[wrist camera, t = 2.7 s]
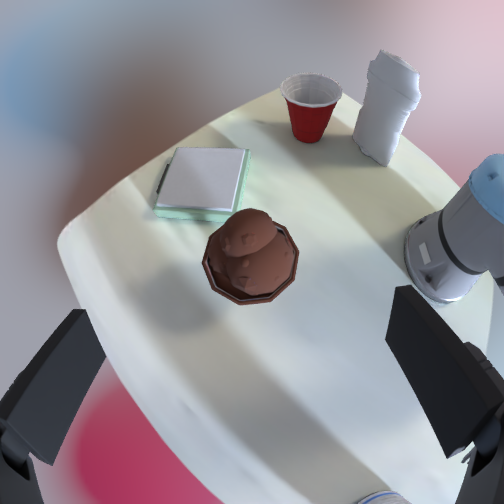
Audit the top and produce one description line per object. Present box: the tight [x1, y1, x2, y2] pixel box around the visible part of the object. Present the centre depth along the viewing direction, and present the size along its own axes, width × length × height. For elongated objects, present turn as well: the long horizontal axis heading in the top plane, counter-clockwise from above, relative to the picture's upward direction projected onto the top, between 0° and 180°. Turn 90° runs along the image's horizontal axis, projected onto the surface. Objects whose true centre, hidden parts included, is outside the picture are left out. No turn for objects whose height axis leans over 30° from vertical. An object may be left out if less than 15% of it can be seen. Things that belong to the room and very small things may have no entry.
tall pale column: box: [352, 50, 421, 167], centre depth 39 cm, size 11×4×22 cm, turn 33°
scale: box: [153, 147, 251, 223], centre depth 46 cm, size 15×14×3 cm
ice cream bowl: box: [202, 208, 299, 305], centre depth 33 cm, size 11×11×15 cm
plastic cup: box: [280, 73, 342, 143], centre depth 46 cm, size 11×11×12 cm
